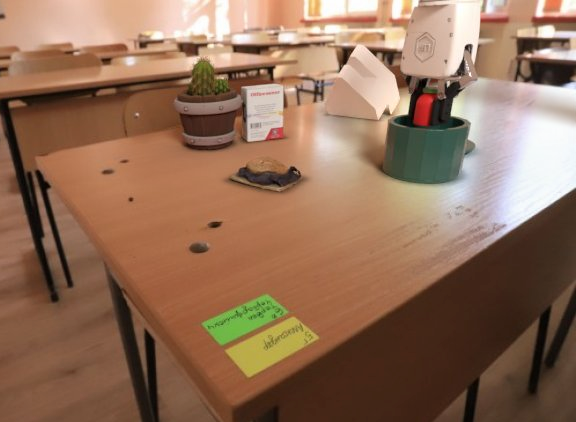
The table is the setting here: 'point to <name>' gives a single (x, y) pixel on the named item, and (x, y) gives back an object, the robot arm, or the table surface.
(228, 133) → the flowerpot
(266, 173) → the bread roll
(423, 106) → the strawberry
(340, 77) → the slotted wedge
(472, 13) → the robot arm
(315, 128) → the table surface
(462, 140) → the tin
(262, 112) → the ink box
